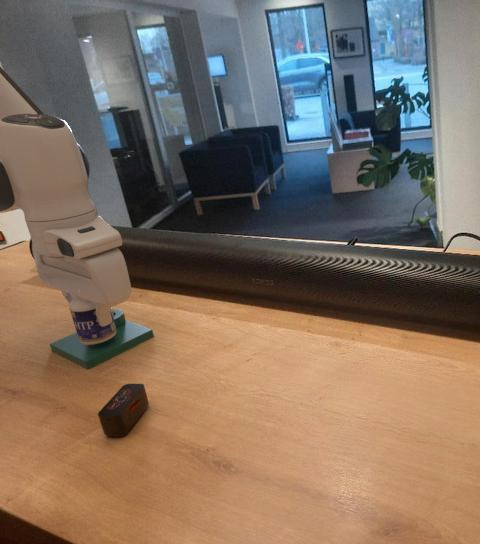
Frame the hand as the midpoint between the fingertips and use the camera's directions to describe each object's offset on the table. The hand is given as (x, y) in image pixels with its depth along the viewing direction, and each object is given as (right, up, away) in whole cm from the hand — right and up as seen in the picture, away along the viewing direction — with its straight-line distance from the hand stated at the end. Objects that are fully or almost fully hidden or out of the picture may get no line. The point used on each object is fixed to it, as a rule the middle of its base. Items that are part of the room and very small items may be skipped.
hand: (93, 319), depth 76 cm
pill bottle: (0, -3, +1) cm, 3 cm away
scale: (0, -4, +4) cm, 6 cm away
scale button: (-1, 0, +7) cm, 7 cm away
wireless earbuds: (+12, -11, -14) cm, 22 cm away
